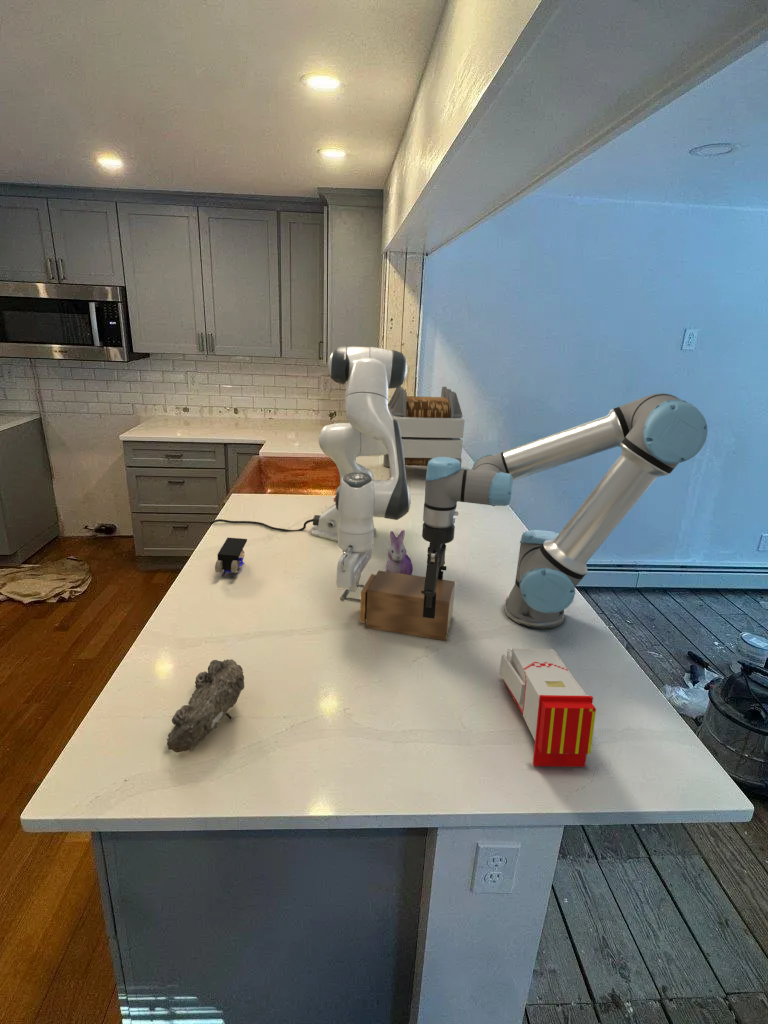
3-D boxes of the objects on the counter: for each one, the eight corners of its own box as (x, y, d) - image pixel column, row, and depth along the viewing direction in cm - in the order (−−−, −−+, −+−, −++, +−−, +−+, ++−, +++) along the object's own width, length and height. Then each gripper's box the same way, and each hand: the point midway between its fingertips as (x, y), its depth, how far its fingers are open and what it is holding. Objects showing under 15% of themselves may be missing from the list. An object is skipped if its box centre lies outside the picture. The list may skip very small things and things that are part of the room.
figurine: (392, 589, 160) (394, 540, 155) (375, 574, 168) (377, 527, 163) (420, 583, 164) (424, 535, 159) (403, 569, 172) (406, 523, 167)
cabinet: (365, 627, 140) (367, 589, 137) (377, 606, 151) (378, 570, 147) (446, 641, 136) (449, 602, 133) (451, 617, 147) (455, 581, 143)
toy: (549, 630, 124) (606, 704, 95) (544, 686, 127) (597, 774, 98) (495, 629, 124) (534, 703, 95) (490, 685, 127) (527, 774, 97)
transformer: (382, 463, 289) (386, 382, 275) (445, 464, 293) (451, 384, 279) (390, 482, 257) (394, 392, 243) (460, 483, 261) (468, 394, 247)
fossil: (192, 660, 117) (244, 628, 112) (224, 691, 120) (276, 661, 115) (142, 746, 98) (202, 712, 93) (182, 779, 101) (242, 748, 96)
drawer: (338, 618, 142) (339, 588, 139) (350, 599, 152) (351, 570, 149) (434, 634, 137) (436, 602, 134) (439, 613, 147) (442, 584, 144)
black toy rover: (238, 584, 162) (249, 557, 175) (236, 562, 158) (247, 536, 172) (215, 584, 161) (227, 556, 175) (212, 561, 158) (225, 535, 171)
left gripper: (356, 557, 129) (354, 610, 134) (377, 526, 148) (375, 574, 153) (330, 553, 131) (329, 606, 135) (354, 523, 149) (353, 571, 154)
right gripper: (448, 544, 121) (440, 632, 129) (460, 508, 143) (453, 586, 151) (414, 539, 123) (408, 627, 130) (431, 505, 145) (425, 582, 152)
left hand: (354, 589), depth 144 cm, fingers closed
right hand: (432, 605), depth 141 cm, fingers closed on cabinet, 11 cm apart
